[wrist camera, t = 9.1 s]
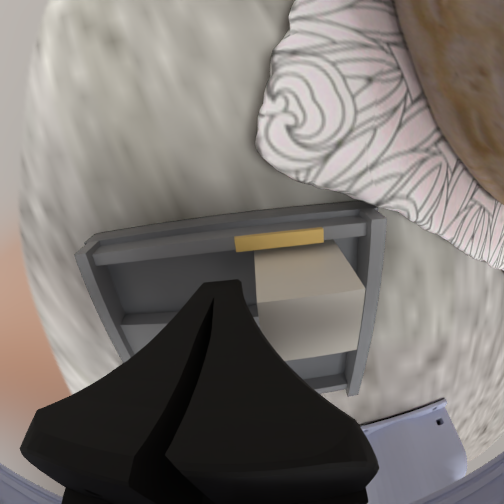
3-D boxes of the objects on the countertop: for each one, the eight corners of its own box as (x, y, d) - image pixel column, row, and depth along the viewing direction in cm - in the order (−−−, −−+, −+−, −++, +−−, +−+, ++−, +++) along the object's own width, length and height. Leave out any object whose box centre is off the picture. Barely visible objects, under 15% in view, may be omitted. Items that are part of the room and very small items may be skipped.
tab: (332, 238, 10) (365, 288, 7) (331, 291, 11) (356, 349, 8) (253, 247, 11) (256, 302, 7) (260, 300, 12) (264, 363, 8)
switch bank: (368, 200, 11) (391, 218, 9) (351, 366, 15) (361, 393, 13) (94, 234, 11) (70, 255, 9) (156, 382, 16) (149, 409, 14)
